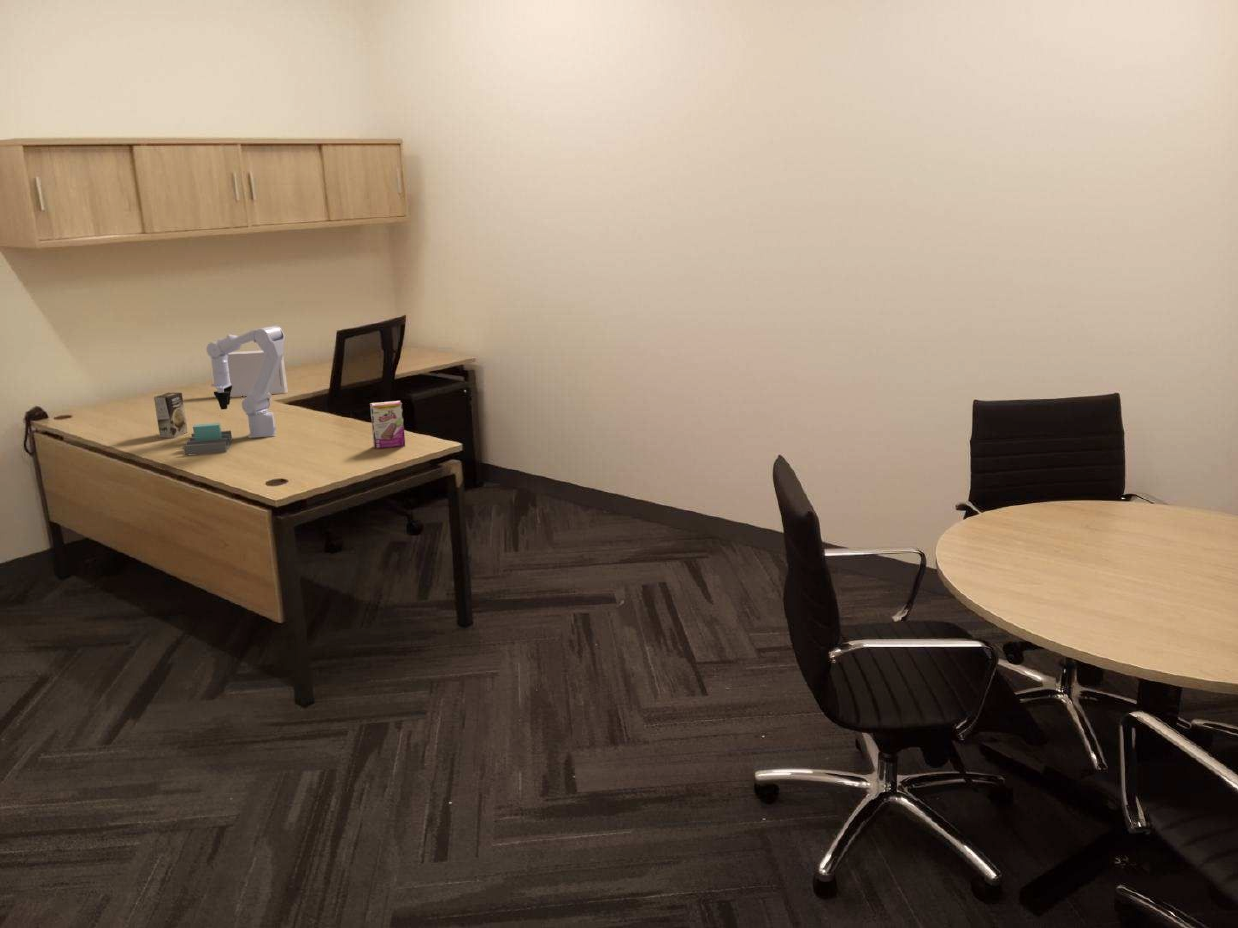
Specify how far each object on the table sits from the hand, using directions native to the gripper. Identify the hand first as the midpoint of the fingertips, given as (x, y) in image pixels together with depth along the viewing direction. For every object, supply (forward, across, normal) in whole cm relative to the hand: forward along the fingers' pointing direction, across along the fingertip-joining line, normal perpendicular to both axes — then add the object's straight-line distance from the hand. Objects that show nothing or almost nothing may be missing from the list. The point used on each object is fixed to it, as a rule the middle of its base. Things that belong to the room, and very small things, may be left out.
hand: (225, 406), depth 376 cm
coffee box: (+11, -4, -20) cm, 24 cm away
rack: (+10, +20, -4) cm, 23 cm away
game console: (+11, -70, +4) cm, 71 cm away
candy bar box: (+9, +41, +60) cm, 74 cm away
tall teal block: (+9, +20, -4) cm, 23 cm away
